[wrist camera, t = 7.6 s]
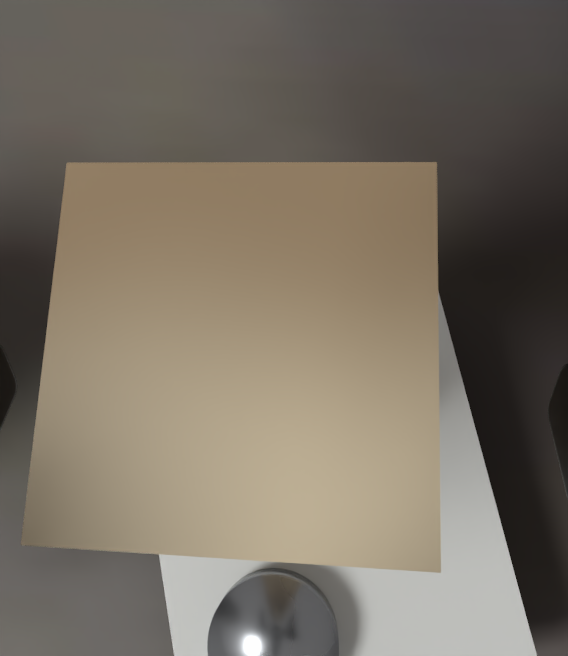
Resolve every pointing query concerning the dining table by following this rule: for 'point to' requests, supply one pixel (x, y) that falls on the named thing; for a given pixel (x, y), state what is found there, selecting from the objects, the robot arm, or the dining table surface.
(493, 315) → the dining table surface
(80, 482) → the beech post
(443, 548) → the white square board
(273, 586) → the silver metal dome
